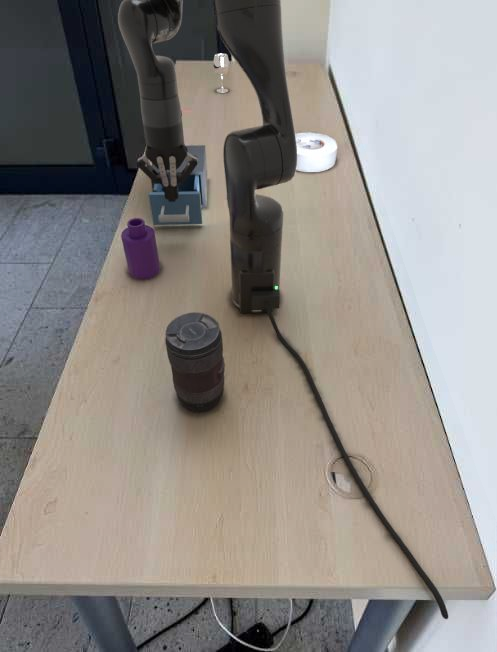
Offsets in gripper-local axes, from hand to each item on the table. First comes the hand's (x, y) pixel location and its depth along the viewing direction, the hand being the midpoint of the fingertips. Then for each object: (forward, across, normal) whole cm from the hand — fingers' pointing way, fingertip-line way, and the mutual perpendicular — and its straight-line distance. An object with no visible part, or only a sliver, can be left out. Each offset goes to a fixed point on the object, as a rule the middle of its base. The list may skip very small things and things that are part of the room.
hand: (172, 200), depth 105 cm
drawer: (+8, 0, +7) cm, 11 cm away
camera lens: (+10, +7, -46) cm, 48 cm away
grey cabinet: (+9, 0, +20) cm, 22 cm away
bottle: (+9, -6, -12) cm, 17 cm away
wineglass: (+8, +11, +96) cm, 97 cm away
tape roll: (+9, +35, +37) cm, 52 cm away
